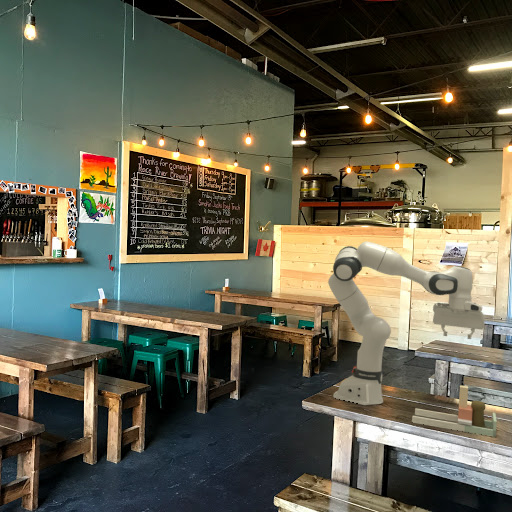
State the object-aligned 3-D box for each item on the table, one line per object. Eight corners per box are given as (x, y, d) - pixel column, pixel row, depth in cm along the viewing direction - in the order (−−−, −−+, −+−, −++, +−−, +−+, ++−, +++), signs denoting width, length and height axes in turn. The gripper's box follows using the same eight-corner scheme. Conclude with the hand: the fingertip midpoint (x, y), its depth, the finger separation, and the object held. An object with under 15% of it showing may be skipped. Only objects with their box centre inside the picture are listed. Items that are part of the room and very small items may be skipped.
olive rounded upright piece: (466, 429, 197) (468, 401, 197) (471, 425, 202) (472, 398, 202) (482, 433, 193) (484, 404, 193) (487, 429, 198) (488, 401, 198)
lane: (412, 422, 201) (412, 407, 201) (415, 414, 212) (415, 400, 212) (495, 437, 189) (496, 421, 189) (494, 427, 200) (495, 412, 200)
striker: (457, 429, 194) (459, 389, 194) (458, 419, 206) (460, 382, 206) (471, 432, 192) (473, 392, 192) (471, 422, 204) (473, 384, 204)
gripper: (432, 302, 212) (430, 335, 212) (485, 307, 204) (483, 341, 204) (434, 301, 218) (431, 333, 218) (485, 306, 209) (483, 339, 210)
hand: (457, 337), depth 211 cm, fingers open, 8 cm apart
